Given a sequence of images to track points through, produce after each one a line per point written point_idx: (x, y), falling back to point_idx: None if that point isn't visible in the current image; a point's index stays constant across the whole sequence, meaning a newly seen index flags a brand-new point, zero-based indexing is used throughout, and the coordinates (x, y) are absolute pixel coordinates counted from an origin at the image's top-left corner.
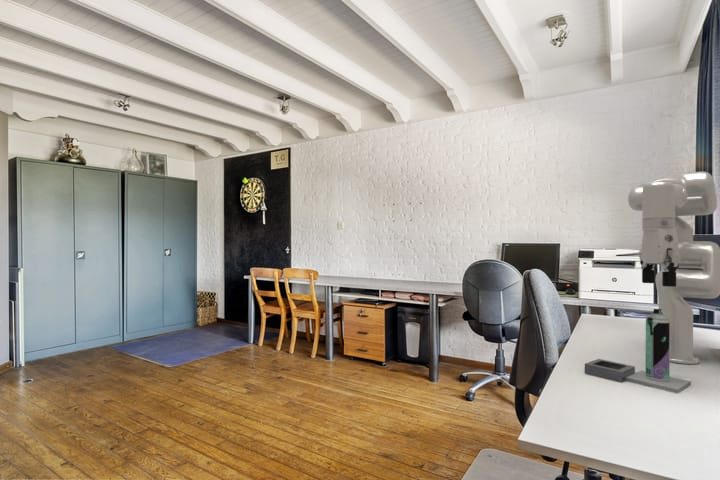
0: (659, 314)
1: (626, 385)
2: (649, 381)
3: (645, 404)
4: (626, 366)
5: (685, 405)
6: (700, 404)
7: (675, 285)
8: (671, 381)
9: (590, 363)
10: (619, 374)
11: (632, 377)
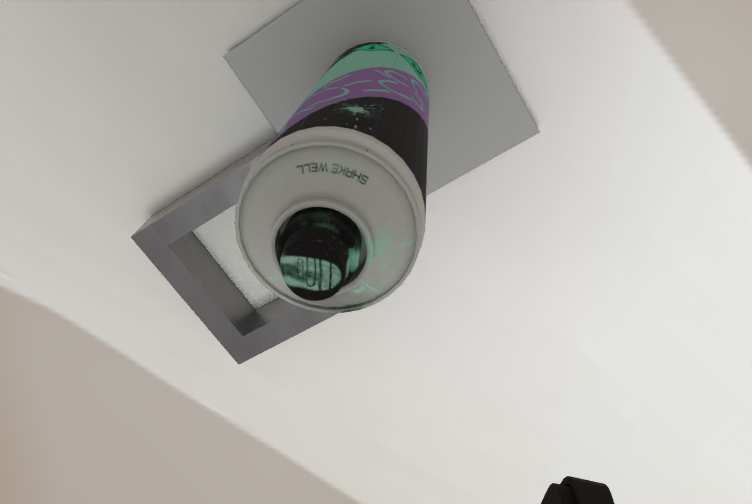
0: (371, 269)
1: (413, 273)
2: None
3: (621, 361)
4: None
5: (666, 223)
6: (673, 147)
7: (604, 497)
8: (420, 48)
9: (232, 337)
10: None
11: None
